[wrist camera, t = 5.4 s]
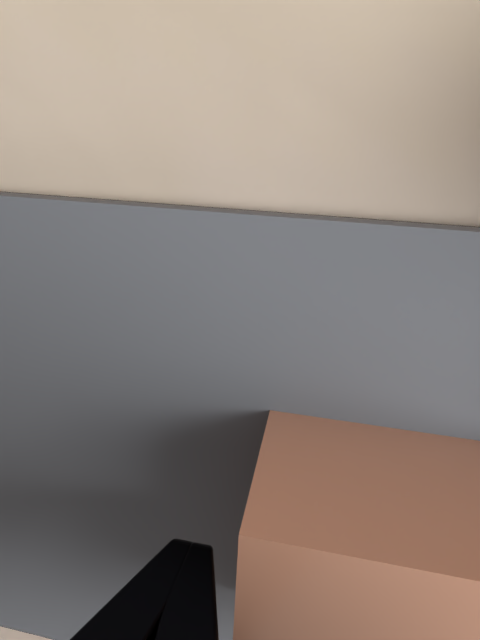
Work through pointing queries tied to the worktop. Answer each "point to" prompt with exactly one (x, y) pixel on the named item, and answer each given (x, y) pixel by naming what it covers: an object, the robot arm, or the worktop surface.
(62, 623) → the slate mat
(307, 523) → the salmon brown block
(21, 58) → the worktop surface
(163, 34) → the worktop surface
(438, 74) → the worktop surface
